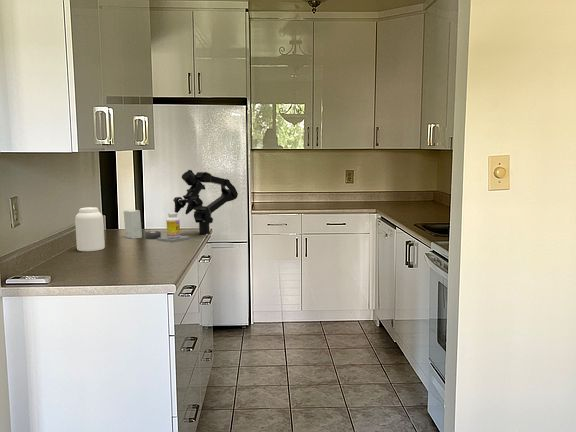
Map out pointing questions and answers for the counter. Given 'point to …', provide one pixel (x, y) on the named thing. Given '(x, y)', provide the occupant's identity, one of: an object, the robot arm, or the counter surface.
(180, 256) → the counter surface
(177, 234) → the supplement bottle
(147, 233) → the dark grey thick disc
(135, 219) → the skincare box
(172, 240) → the grey flat square piece
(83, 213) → the white jar
